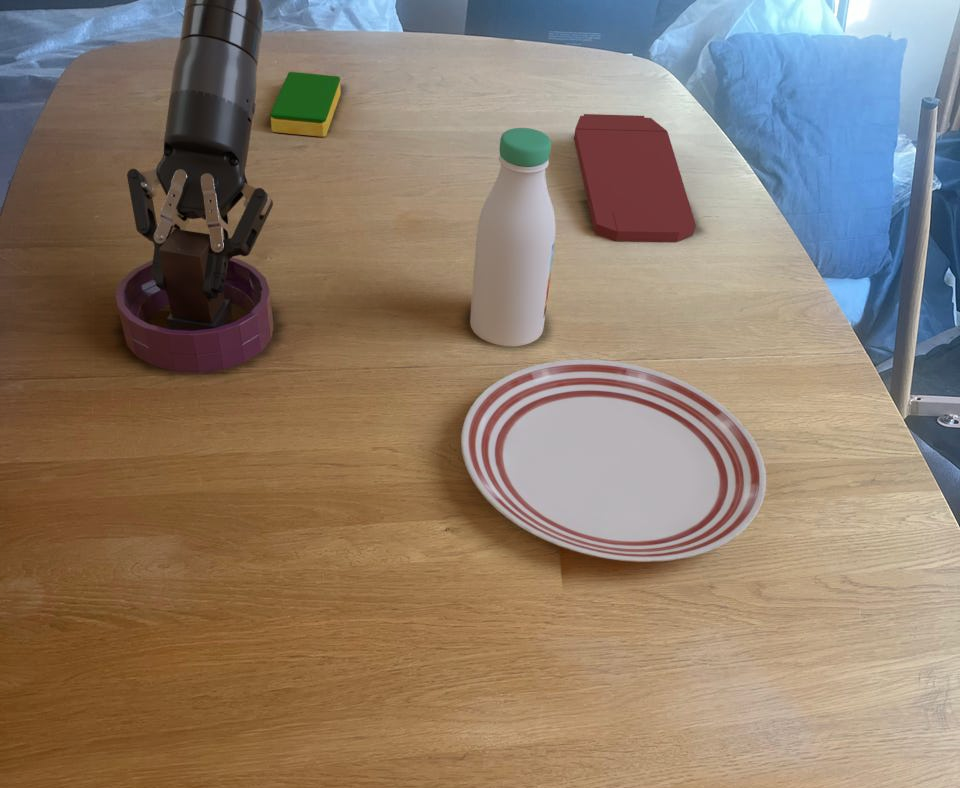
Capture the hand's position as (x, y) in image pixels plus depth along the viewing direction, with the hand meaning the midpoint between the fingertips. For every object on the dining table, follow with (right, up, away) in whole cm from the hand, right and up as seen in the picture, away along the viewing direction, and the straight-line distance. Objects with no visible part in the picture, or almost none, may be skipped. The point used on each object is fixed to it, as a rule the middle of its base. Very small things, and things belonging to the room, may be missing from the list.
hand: (186, 291), depth 94 cm
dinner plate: (+40, -18, -3) cm, 44 cm away
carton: (+46, +24, +32) cm, 61 cm away
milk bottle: (+31, -1, +10) cm, 32 cm away
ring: (0, -2, +6) cm, 6 cm away
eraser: (0, -2, +5) cm, 5 cm away
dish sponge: (+4, +38, +40) cm, 55 cm away
